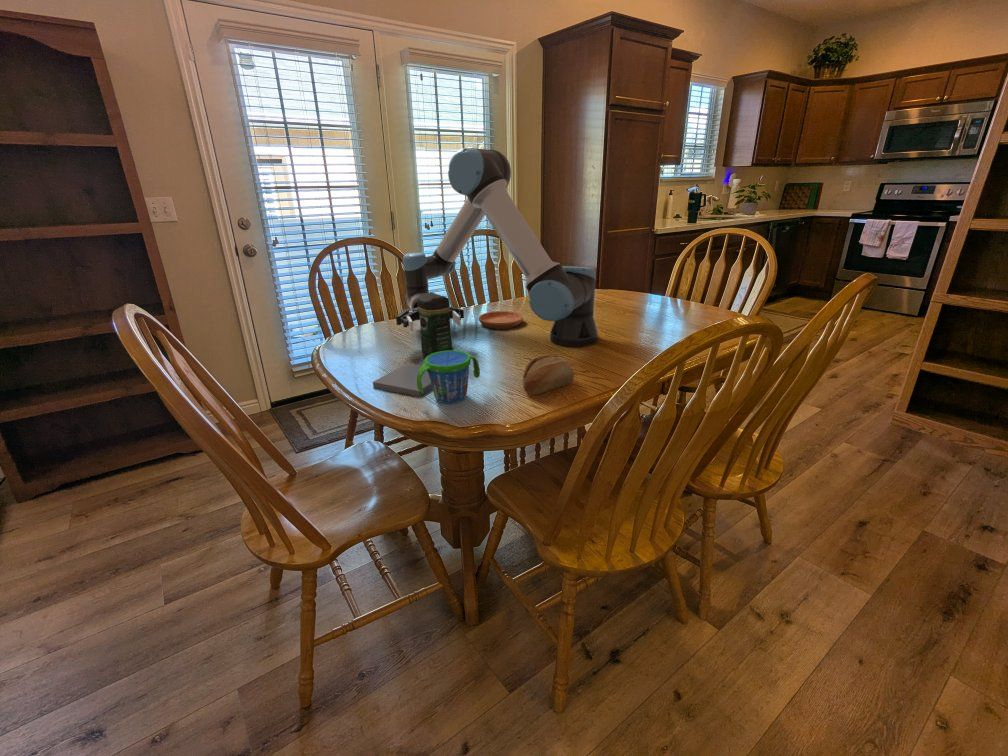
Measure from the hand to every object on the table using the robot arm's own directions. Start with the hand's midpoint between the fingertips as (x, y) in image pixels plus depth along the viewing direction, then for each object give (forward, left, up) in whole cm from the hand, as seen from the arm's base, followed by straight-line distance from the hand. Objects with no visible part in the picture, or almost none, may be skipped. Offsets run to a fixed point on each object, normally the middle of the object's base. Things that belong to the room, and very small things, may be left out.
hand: (435, 323), depth 133 cm
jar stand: (-4, +17, -10) cm, 21 cm away
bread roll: (-37, +7, -11) cm, 39 cm away
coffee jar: (+1, -2, -11) cm, 11 cm away
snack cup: (-18, +22, -11) cm, 30 cm away
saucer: (-1, -40, -11) cm, 41 cm away
